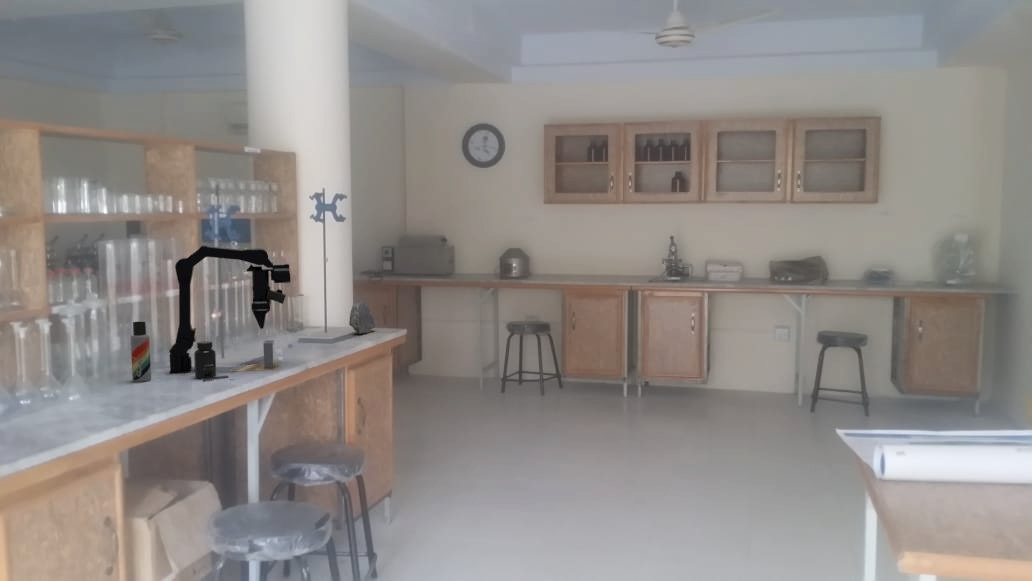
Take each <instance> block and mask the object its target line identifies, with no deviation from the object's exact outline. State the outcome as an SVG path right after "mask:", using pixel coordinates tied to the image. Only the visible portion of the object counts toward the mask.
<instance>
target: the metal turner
mask: <svg viewBox="0 0 1032 581" xmlns="http://www.w3.org/2000/svg"><path fill="white" fill-rule="evenodd" d="M222 379H229V375H216V376H214V377H208V378H202V382H203V383H205V382H206V381H208V382H214V380H222ZM231 381H235V380H234V378H233V379H231Z"/></svg>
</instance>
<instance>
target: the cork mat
mask: <svg viewBox="0 0 1032 581" xmlns="http://www.w3.org/2000/svg"><path fill="white" fill-rule="evenodd" d="M250 364H251V365H247V366H245V367H243V368H240V369H235V370H231V369H229V372H230V373H231V372H247V371H248V372H249V371H250V372H252V371H253V372H254V371H274V370H275V371H276V370H278V368H279V365H280V362H275V365H274V367H273V368H267V369H264V363H250Z"/></svg>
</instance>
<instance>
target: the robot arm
mask: <svg viewBox="0 0 1032 581" xmlns="http://www.w3.org/2000/svg"><path fill="white" fill-rule="evenodd" d="M205 258H218V259H225V260H226V259H227V260H236V261H237V260H238V261H243V262H246V263H250V265H249V266H248V268H246V272H251V279H252V282H251V283H252V284H251V285H252V287H251V290H252V303H251V311H252V314H253V315H254V318H255V321H256V322H257V324H258V327H259V329H261V330H263V329H264V327H265V323H266V322H265V320H266V315H267V314H268V313H269V312H270V311H271V304H272V303H271V301H274V302H277V303H279V304H281V305H282V304H284V302H285V299H286V296H287V295H286V293H283V290H282V289H280V288H278V289H276V290H272V289H271V286H270V281H272V282H273V283H274V284H290V283H291V273H290V272H291V271H290V264H289V263H284V264H274V262H272V260H270V259H269V253H268V251H266V249H264V248H260V247H258V248H247V249H246V248H245V249H240V248H239V249H238V248H229V247H220V246H210V245H207V244H205V245H201V246H200V247H199V248H198V249H197V250H196V251H194V252H193V253H192V254H191V255H189V256H188V257H182V258H180V259H178V260H177V262H176V263H175V265H174V266H175V274H176V278H177V281H178V295H179V296H178V308H179V309H178V315H179V316H178V319H179V320H178V329H177V333H176V339H175V342H174V344H173V345H172V346H171V347H170V349H169V350H168V352H169V368H170V369H169V374H178V373H179V374H181V373H190V372H191V370H192V368H193V366H192V364H193V363H192V357H191V356H190V352H188V351H189V350H191V349H192V347H193V346H194V343H196V341H197V336H196V332H197V327H194V328H193V327H192V318H191V316H192V310H191V309H192V306H191V305H192V303H191V302H192V301H191V300H192V294H191V292H192V291H191V290H192V289H191V286H192V285H191V283H192V280H193V274H194V270H195V266H197V264H199V263H200V262H201V261H202V260H204V259H205ZM254 265H255V266H254ZM263 266H264V267H266V268H263Z"/></svg>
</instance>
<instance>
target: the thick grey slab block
mask: <svg viewBox="0 0 1032 581" xmlns="http://www.w3.org/2000/svg"><path fill="white" fill-rule="evenodd" d="M262 344H263V364H264V369H267V368H273V367H274V365H275V363H276V360H275V359H276V358H275V355H276V354H275V340H274V339H270V340H269V339H267V340H264V342H263V343H262Z"/></svg>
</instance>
